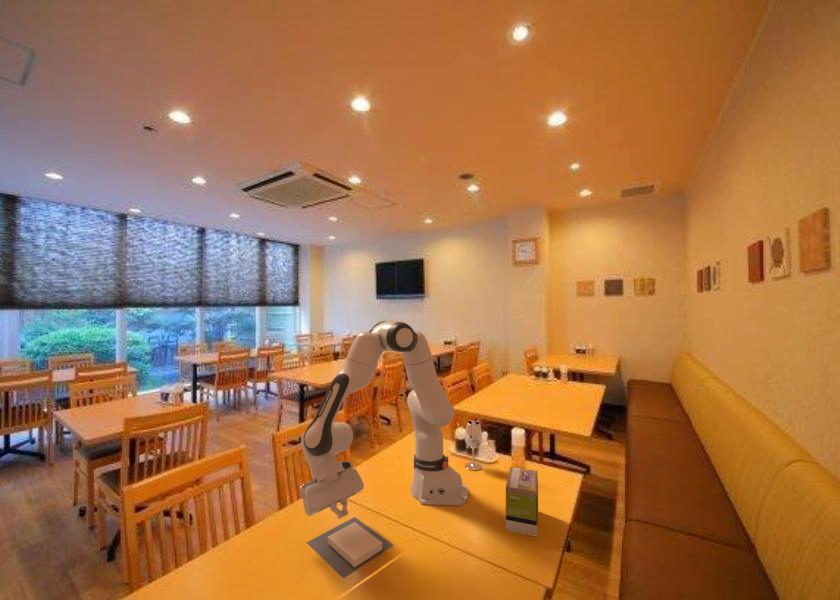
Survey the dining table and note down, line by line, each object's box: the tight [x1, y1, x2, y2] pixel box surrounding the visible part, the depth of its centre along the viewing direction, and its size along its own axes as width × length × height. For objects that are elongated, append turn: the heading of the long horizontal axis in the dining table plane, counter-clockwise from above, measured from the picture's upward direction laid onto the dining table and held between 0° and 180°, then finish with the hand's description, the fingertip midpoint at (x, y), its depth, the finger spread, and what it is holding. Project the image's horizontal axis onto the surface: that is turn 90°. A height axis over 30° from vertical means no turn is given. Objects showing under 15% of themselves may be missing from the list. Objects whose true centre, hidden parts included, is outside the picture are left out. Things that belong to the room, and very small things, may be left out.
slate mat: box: [306, 516, 394, 579], centre depth 108 cm, size 20×18×1 cm
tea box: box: [505, 466, 539, 537], centre depth 121 cm, size 15×10×15 cm
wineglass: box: [464, 420, 483, 471], centre depth 160 cm, size 8×8×20 cm
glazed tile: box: [327, 522, 382, 567], centre depth 106 cm, size 2×10×14 cm
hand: (343, 516), depth 110 cm, fingers closed
